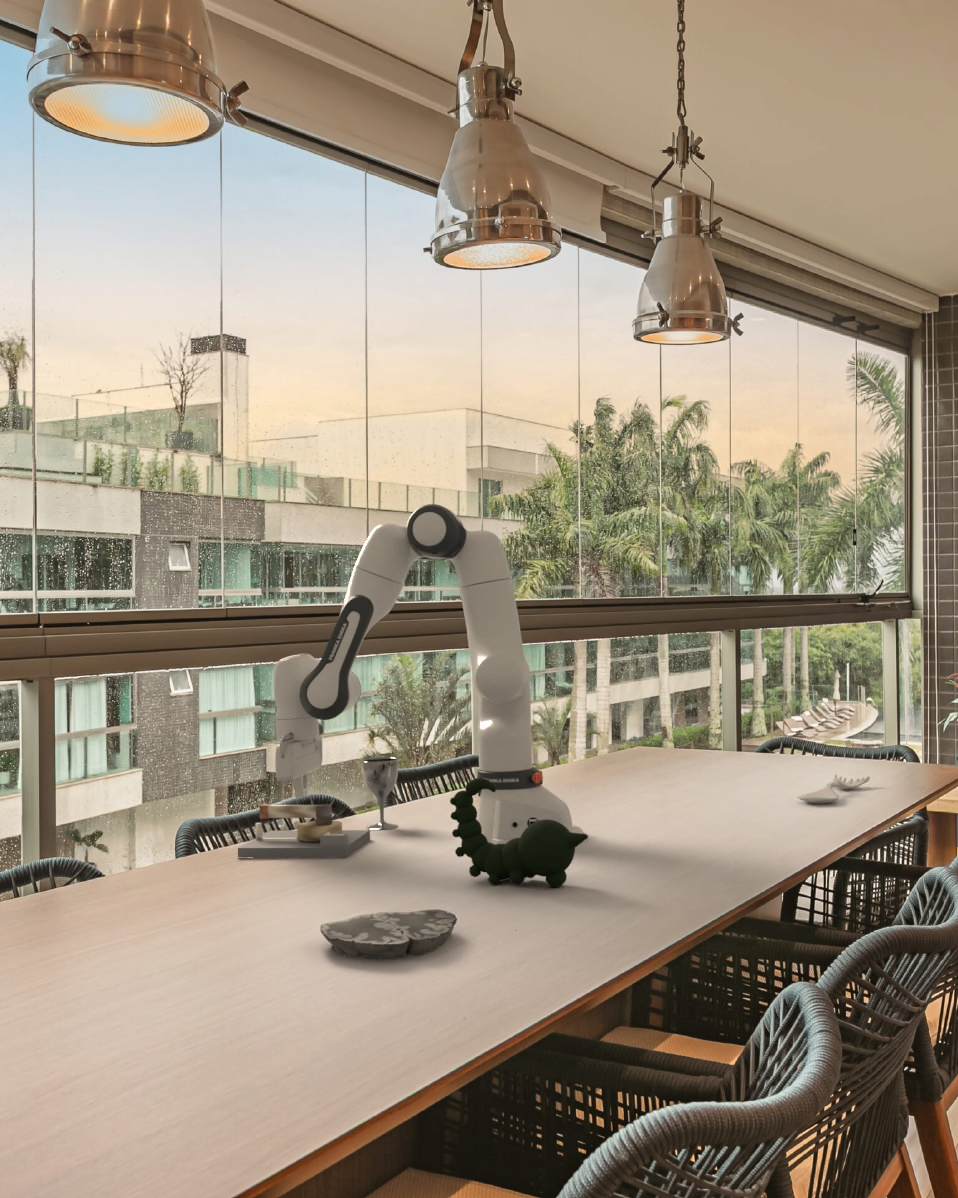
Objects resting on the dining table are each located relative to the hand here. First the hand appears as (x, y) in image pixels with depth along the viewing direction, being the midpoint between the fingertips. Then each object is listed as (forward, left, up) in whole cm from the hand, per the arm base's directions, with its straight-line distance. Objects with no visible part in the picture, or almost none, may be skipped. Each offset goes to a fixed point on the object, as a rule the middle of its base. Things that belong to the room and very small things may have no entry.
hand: (301, 796), depth 238 cm
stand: (-3, +8, -9) cm, 13 cm away
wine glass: (-13, -15, -10) cm, 22 cm away
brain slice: (-38, +74, -10) cm, 84 cm away
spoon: (-115, -51, -10) cm, 126 cm away
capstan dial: (-2, +8, -7) cm, 11 cm away
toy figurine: (-51, +37, -10) cm, 64 cm away
